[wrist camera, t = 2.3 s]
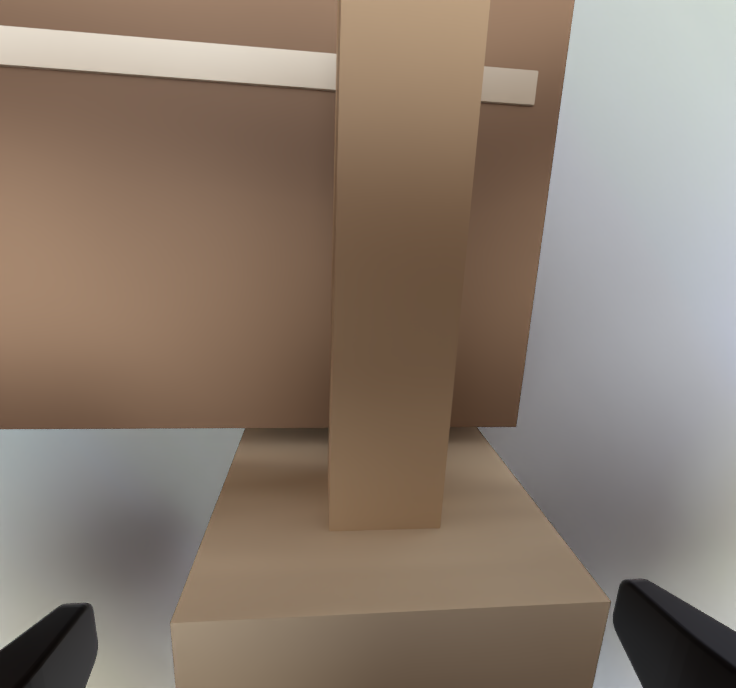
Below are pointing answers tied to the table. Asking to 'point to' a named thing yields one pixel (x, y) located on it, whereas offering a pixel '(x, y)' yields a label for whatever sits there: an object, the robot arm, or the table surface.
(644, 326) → the table surface
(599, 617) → the marking gauge
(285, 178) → the walnut board
